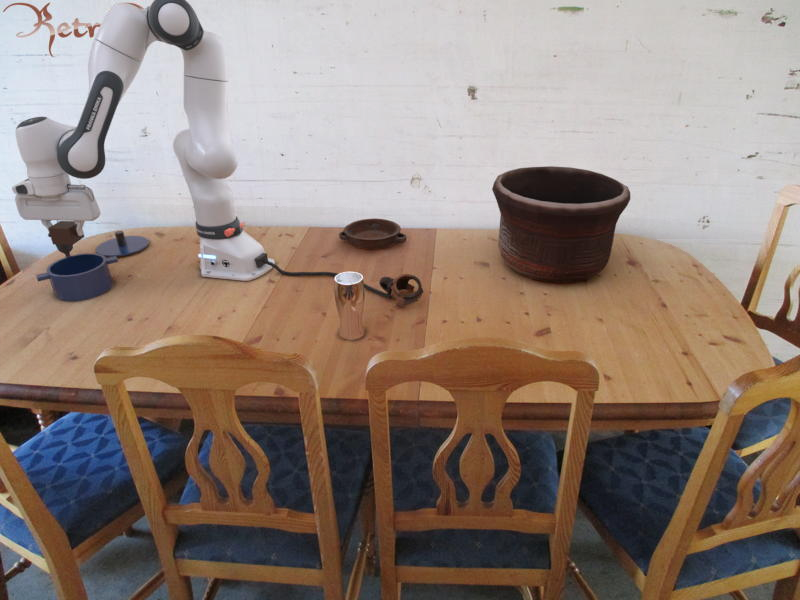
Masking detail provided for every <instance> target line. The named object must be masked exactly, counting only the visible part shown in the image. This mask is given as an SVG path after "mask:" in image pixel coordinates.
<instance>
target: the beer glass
mask: <svg viewBox="0 0 800 600" xmlns="http://www.w3.org/2000/svg"><path fill="white" fill-rule="evenodd" d="M333 279H334V280H333V281H334V283H333V284H334V285H333V291H334V303H335V306H336V310H337V313H338V317H339V331H338V333H339V334H338V335H339V336H340V337H341V338H342V339H344V340H347V341H354V340H355V341H356V340H359V339H361V338H363V336H364V335H365V332H366V331H365V327H364V323H363V314H364V307H365V299H366V298H365V297H366V295H365V294H366V293H365V292H366V291H365V288H364V284H365V282H364V276H363V275H362V274H361V273H359V272H356V271H344V272H340V273H339V274H338V275H336V276H334V278H333Z"/></svg>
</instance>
